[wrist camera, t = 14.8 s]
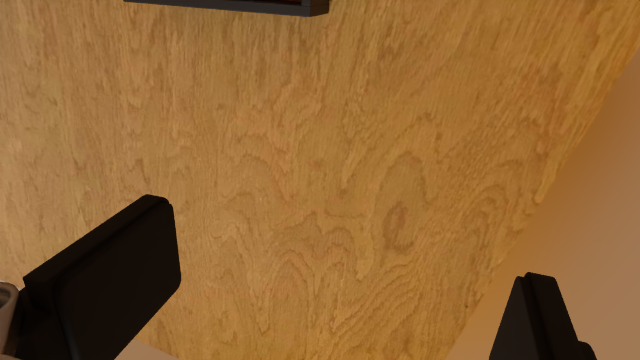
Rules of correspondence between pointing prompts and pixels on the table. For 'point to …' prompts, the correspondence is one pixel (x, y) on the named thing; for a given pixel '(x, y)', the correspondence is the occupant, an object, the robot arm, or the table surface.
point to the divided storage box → (253, 6)
